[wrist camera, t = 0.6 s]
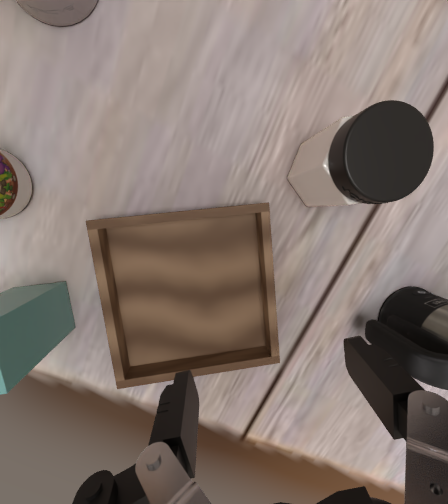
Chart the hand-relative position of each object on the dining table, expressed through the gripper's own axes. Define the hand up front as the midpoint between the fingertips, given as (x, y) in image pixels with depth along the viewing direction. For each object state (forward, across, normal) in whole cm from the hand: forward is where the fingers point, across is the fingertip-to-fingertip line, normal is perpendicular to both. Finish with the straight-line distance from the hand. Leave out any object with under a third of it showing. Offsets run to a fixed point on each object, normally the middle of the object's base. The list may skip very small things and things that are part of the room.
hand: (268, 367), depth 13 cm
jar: (+23, -13, -7) cm, 27 cm away
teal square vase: (+18, +24, +1) cm, 30 cm away
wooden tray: (+20, +6, +3) cm, 21 cm away
